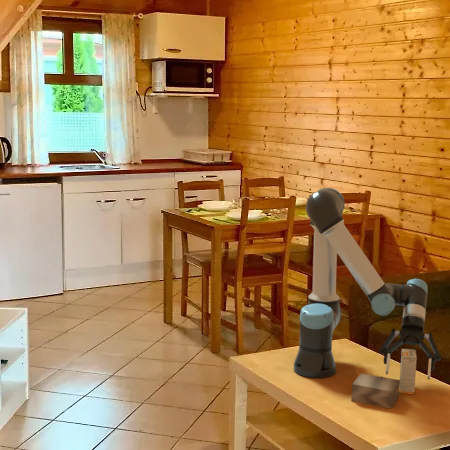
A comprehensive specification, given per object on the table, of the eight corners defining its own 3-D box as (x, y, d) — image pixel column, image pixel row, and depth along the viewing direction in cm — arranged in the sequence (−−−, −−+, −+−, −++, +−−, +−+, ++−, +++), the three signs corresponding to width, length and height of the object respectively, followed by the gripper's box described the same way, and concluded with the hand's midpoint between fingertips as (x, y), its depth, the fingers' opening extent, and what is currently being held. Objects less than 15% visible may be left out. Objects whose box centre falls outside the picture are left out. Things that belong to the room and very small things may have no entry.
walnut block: (351, 401, 230) (352, 384, 229) (360, 390, 240) (360, 373, 239) (391, 409, 225) (392, 391, 224) (398, 397, 235) (399, 379, 234)
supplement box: (414, 394, 236) (417, 357, 234) (400, 393, 237) (402, 355, 235) (413, 385, 244) (415, 349, 242) (399, 384, 245) (401, 347, 243)
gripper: (450, 329, 248) (446, 385, 237) (378, 321, 256) (370, 375, 245) (451, 318, 243) (446, 375, 231) (376, 310, 251) (369, 365, 239)
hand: (407, 375), depth 238 cm, fingers open, 13 cm apart
